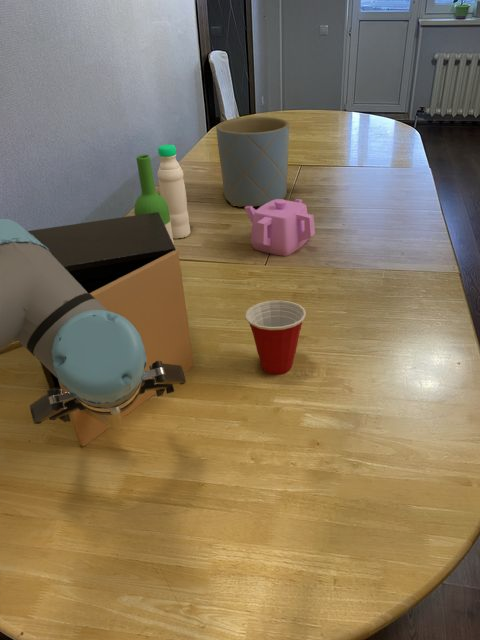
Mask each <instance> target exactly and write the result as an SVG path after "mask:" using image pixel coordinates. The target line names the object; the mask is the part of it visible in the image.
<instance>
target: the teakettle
mask: <svg viewBox="0 0 480 640" xmlns="http://www.w3.org/2000/svg"><path fill="white" fill-rule="evenodd" d="M244 210H245V212H246V214H247V216H248V219H249V220H250V223H251V232H250V233H251V235H250V236H251V237H250V241H251V245H252V248H253V250H254V251H258V252H263V253H267V254H271V255H275V256H280V257H288V256H290V255H293V253H295V252H296V251H299V250H300V248H302V247H303V246H305V244H306V243H307V242H308V240H309V239H311V238H312V237H314V236H315V235H316V231H315V217H314V215H313V214H312V213H311V214H310V213H308V209H307V205H306V203H303V199H302V198H301V199H300V198H296V199H294V201H292V200H286V199H275V200H272V201H270V202H268V203H266V204H265V205H263V206H259V207H258V208H257V209H255V208H254V206H244Z"/></svg>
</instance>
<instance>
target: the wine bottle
mask: <svg viewBox="0 0 480 640" xmlns="http://www.w3.org/2000/svg"><path fill="white" fill-rule="evenodd" d="M135 160H136V165H137V172H138V176H139V184H140V190H141V193H140V195H138V197H137V199H136V201H135V204H134V216H135V215H142V214H149V213H156V212H159V214H160V216H161V219H162V221H163V223H164V225H165V227H166V229H167V231H168V234H169V236H170V238H171V240H172V242H173V244H174V245H175V242H174V239H173V235H172V228H171V221H170V215H169V208H168V205H167V203H166V201H165V199H164V198H163V197H162V196H161V195H160V193H158V192H157V190H156V185H155V179H154V173H153V167H152V160H151V156H150V155H149V154H140V155H137V156H136V159H135Z"/></svg>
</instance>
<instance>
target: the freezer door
mask: <svg viewBox="0 0 480 640" xmlns="http://www.w3.org/2000/svg"><path fill="white" fill-rule="evenodd" d="M179 254H180V253H179V251H178V250H176V251H175V250H174V251H172V252H170V253H168V254H166V255H164V256H162V257H160V258H158V259H156V260H154V261H152V262H150V263H148V264H146V265H144V266H143V267H141V268H139V269H137V270H135V271H133V272H131V273H129V274H127V275H125V276H123V277H121V278H119V279H117V280H115V281H113V282H111V283H109V284H107V285H105V286H103V287H101V288H99V289H97V290H95V291H93V292H91V293H89V294H91V295H92V296H93V297H94V298H95V299H97V300H98V301H99V302H100V303H101V304H102V305H103V306H104V307H105V308H106V309H107V310H108V311H109V312H113V313H116V314H118V315H120V316H122V317H124V318H125V319H127V320H128V321H129V322H130V323H131V324H132V325H133V326H134V327H135V328H136V330H137V331H138V333H139V335H140V337H141V339H142V342H143V345H144V347H145V352H146V355H145V356H146V358H147V361H146V368H145V371H149V370H150V368H149V366H150V365H152V364H153V363H154V362H156V361H162V363H164V364H172V365H181V366H182V369H183V373H186V372H187V371H189V370H190V369H191V368H192V367H194V366H195V363H194V356H193V355H194V354H193V349H192V339H191V334H190V326H189V319H188V312H187V311H188V310H187V304H186V298H185V290H184V284H183V283H184V281H183V276H182V269H181V262H180V261H181V260H180V255H179ZM58 381H59V380H58ZM59 384H60V387H61V389H62V390H63V393H66V392H68V390H67V389H66V388H65V387H64V385H62V384H61V382H60V381H59ZM155 395H157V393H156V390H150V391H145V393H143V394H141V395H138V397H137V399H136V401H135V402H134V403H133V404H132V405H131V406H130V407H129V408H128V409H126V410H125V411H123V412H121V413H119V414H117V415H99V414H95V413H93V412H91V411H89V410H87V409H86V410H79V409H78V410H76V411H73V412H71V413H69V417H70V421H71V422H72V425H73V429H74V431H75V432H74V433H75V435H76V437H77V440H78V443H79V445H80V446H81V447H83V448H84V447H85V446H86V445H88V444H89V443H91V442H92V441H93V440H95V439H97V438H98V437H99V436H100V435H102V434H103V433H104V432H106V431H107V430H109V429H111V430H116V429H119V428H121V427H122V425H123V420H122V419H123V418H124V417H126V416H127V415H129V414H130V413H131V412H133V411H135V409H137V408H138V407H139V406H141V405H142V404H144V403H145V402H146V401H149V399H151V398H152V397H154V396H155Z"/></svg>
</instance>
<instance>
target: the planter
mask: <svg viewBox="0 0 480 640" xmlns="http://www.w3.org/2000/svg"><path fill="white" fill-rule="evenodd" d="M215 129H216V130H215V131H216V137H217V148H218V156H219V163H220V164H219V165H220V171H221V177H222V179H221V180H222V187H223V194H224V195H223V196H224V198H225V200H226V201H228V202H229V204H230V205H231V206H232V205H234V206H238V207H237V208H240V207H247V206H252V207H261V206H263V205H265V204H266V203H268V202H270V201H272V200H275V199H283V200H285V198H286V196H287V194H288V171H289V167H288V166H289V153H290V151H289V147H290V123H289V121H288V120H285V119H283V118H280V117H279V118H278V117H271V116H247V117H246V116H245V117H244V116H243V117H235V118H231V119H227V120H223V121H221V122H219V123H218V124H217V125H216V127H215Z"/></svg>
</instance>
